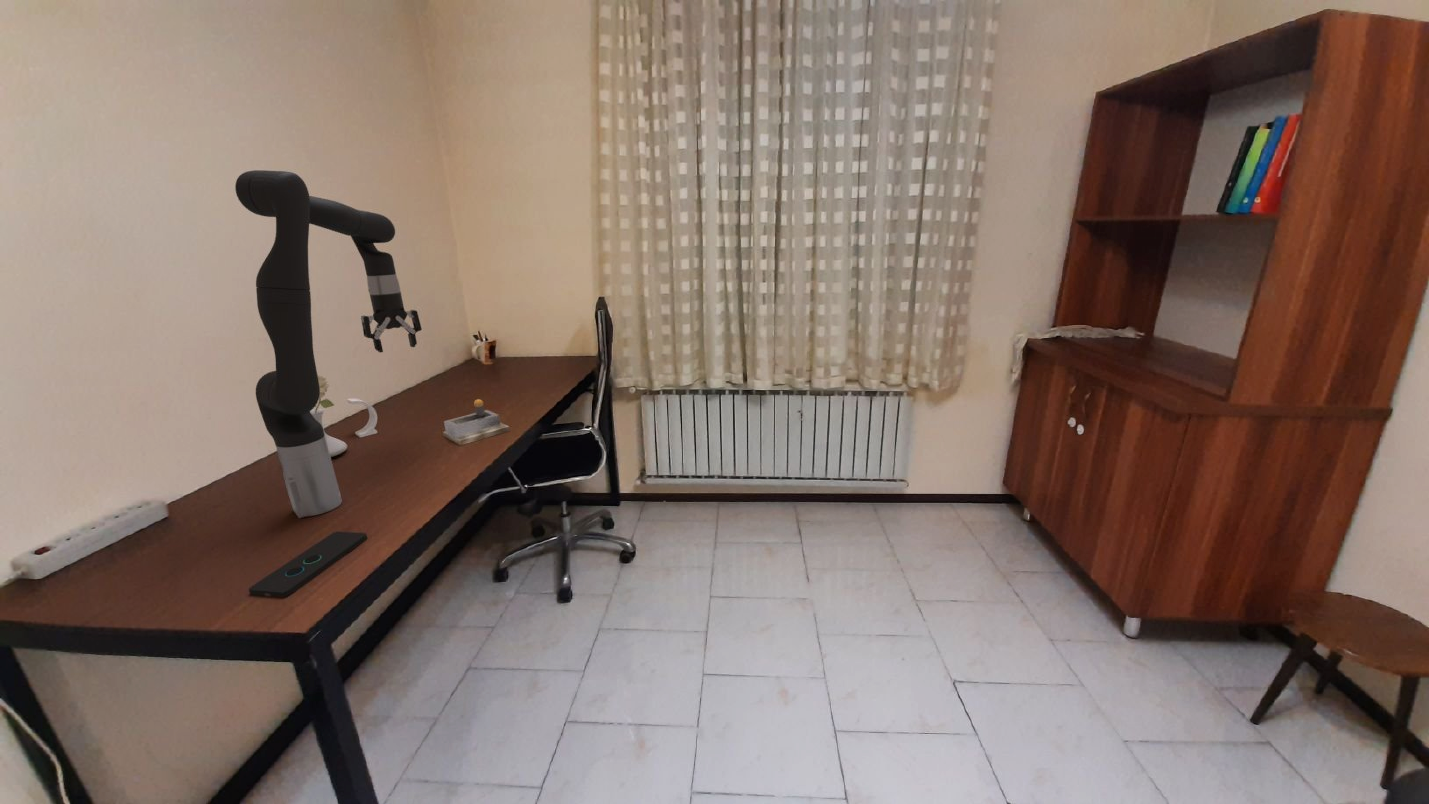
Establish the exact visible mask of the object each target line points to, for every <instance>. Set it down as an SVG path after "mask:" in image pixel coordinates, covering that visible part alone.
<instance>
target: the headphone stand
mask: <svg viewBox="0 0 1429 804" xmlns="http://www.w3.org/2000/svg"><path fill="white" fill-rule="evenodd" d="M346 399H347V402H348V403H349V404H352V405H357V404H358V405H362V406H363V405H364V407H366V409H367V411H368V415H369V418H368V421H367V423H366V425H364V427H363V428H361V429H359V430H357V431H355V433H354V434H355V436H357V437H359V438H364V437H367V436H371V435H375V434H378V430H377V429H375V427H376V426H377V423H378V414H377V410H376V409H375V408H374V407H373V406H372V405H371V404H369V403H367V402H365V401H364V400H362V399H359V398H346Z"/></svg>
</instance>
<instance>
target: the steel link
mask: <svg viewBox="0 0 1429 804" xmlns="http://www.w3.org/2000/svg"><path fill="white" fill-rule="evenodd" d="M484 414H485V417H483V418H480V419H477V416H476V412H473V413H471V414H467V415H464V416H459V417H454V418H451V419H448V420H444V421H443V424H444V429H445V431H446V434H448V435H450V436H452V437H454V438H455V439H460V438H463V437H466V436H470V435H473V434H477V433H480V432H484V431H487V430H491V429H494V428H498V427H501V426H500V422H501V421H500V415H499V414H498V413H495V412H493V411H491V410H488V409H485V410H484Z"/></svg>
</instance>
